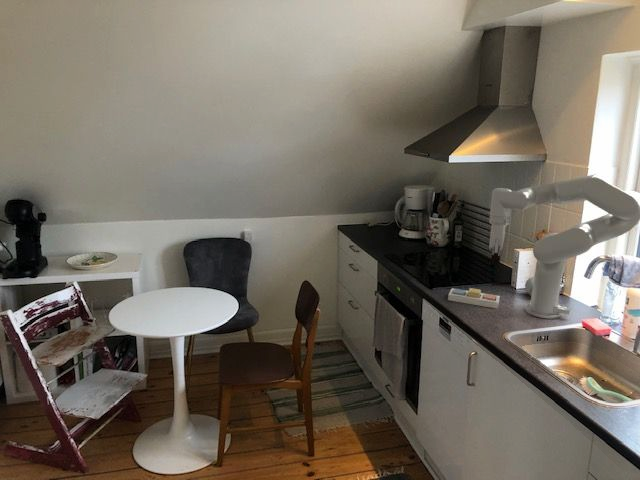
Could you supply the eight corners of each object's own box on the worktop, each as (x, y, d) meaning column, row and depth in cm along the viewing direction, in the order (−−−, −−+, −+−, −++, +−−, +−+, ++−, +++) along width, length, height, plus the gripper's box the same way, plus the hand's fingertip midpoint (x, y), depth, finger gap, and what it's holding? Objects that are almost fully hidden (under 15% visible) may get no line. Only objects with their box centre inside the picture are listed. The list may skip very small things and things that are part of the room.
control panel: (499, 301, 207) (499, 296, 206) (497, 308, 200) (498, 302, 199) (451, 293, 214) (451, 288, 214) (447, 300, 207) (448, 294, 206)
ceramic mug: (528, 299, 210) (531, 282, 208) (523, 292, 218) (526, 275, 216) (555, 302, 209) (558, 284, 207) (549, 294, 217) (552, 277, 215)
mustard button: (480, 296, 208) (480, 289, 207) (478, 300, 204) (479, 293, 203) (469, 294, 209) (469, 288, 209) (467, 298, 206) (468, 291, 205)
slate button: (464, 297, 210) (465, 290, 210) (463, 300, 206) (463, 293, 206) (453, 295, 212) (454, 288, 211) (452, 298, 208) (452, 291, 207)
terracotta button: (495, 302, 206) (495, 295, 205) (494, 305, 202) (494, 298, 201) (483, 300, 208) (484, 293, 207) (482, 303, 204) (483, 296, 203)
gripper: (490, 215, 208) (486, 258, 213) (488, 222, 195) (484, 268, 199) (509, 217, 206) (505, 260, 210) (509, 224, 192) (504, 270, 197)
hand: (495, 264), depth 205 cm, fingers closed
